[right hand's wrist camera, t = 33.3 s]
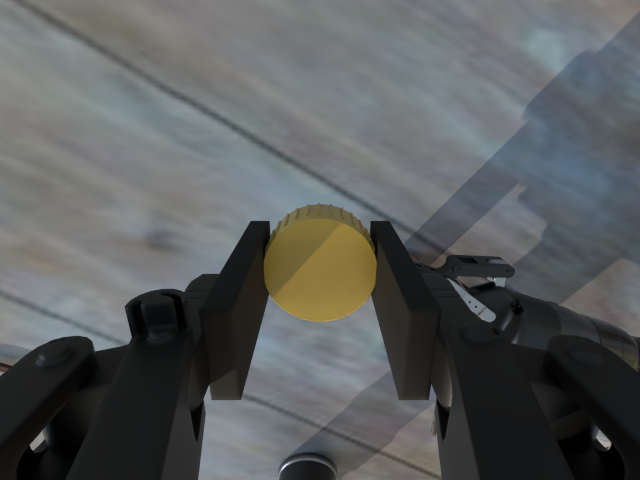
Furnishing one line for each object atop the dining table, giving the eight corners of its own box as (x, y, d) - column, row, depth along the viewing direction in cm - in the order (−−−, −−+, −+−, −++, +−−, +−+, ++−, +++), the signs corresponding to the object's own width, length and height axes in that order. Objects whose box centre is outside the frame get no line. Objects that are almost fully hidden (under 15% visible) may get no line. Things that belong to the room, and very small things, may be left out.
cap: (384, 213, 14) (393, 228, 12) (358, 305, 15) (363, 331, 14) (276, 193, 13) (270, 206, 12) (261, 289, 15) (254, 313, 13)
